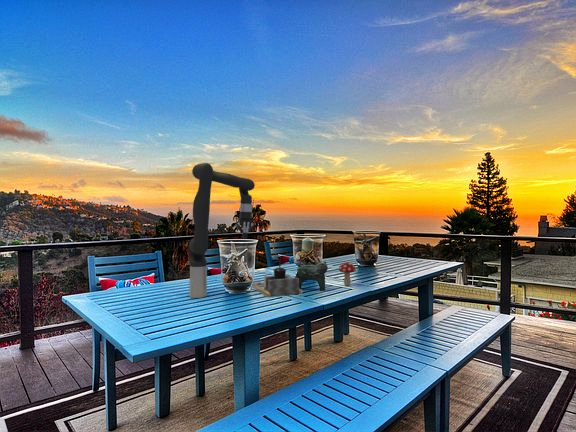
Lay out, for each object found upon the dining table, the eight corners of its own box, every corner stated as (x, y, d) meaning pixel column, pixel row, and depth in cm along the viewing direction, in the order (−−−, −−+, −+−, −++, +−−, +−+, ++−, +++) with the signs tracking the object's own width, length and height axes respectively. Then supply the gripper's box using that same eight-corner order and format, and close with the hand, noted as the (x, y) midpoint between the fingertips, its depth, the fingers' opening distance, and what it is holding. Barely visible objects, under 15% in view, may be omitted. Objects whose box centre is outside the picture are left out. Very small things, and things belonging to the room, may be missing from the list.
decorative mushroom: (359, 286, 220) (359, 263, 220) (347, 288, 213) (347, 264, 213) (347, 283, 229) (347, 260, 229) (335, 285, 223) (335, 262, 222)
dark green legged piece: (327, 289, 211) (327, 257, 211) (327, 291, 205) (327, 258, 204) (295, 288, 213) (295, 256, 213) (294, 291, 207) (294, 258, 206)
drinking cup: (281, 294, 198) (281, 260, 197) (270, 292, 202) (270, 259, 201) (288, 291, 204) (288, 258, 204) (277, 290, 208) (278, 257, 208)
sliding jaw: (265, 292, 202) (265, 276, 202) (264, 290, 205) (264, 276, 205) (290, 289, 208) (290, 275, 208) (288, 288, 211) (288, 274, 211)
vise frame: (266, 297, 191) (266, 281, 191) (251, 286, 220) (251, 272, 220) (302, 293, 200) (302, 278, 199) (282, 283, 228) (282, 269, 228)
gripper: (237, 210, 208) (236, 239, 208) (257, 211, 214) (256, 239, 214) (234, 211, 215) (233, 238, 215) (254, 211, 221) (253, 238, 220)
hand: (245, 238), depth 214 cm, fingers closed
